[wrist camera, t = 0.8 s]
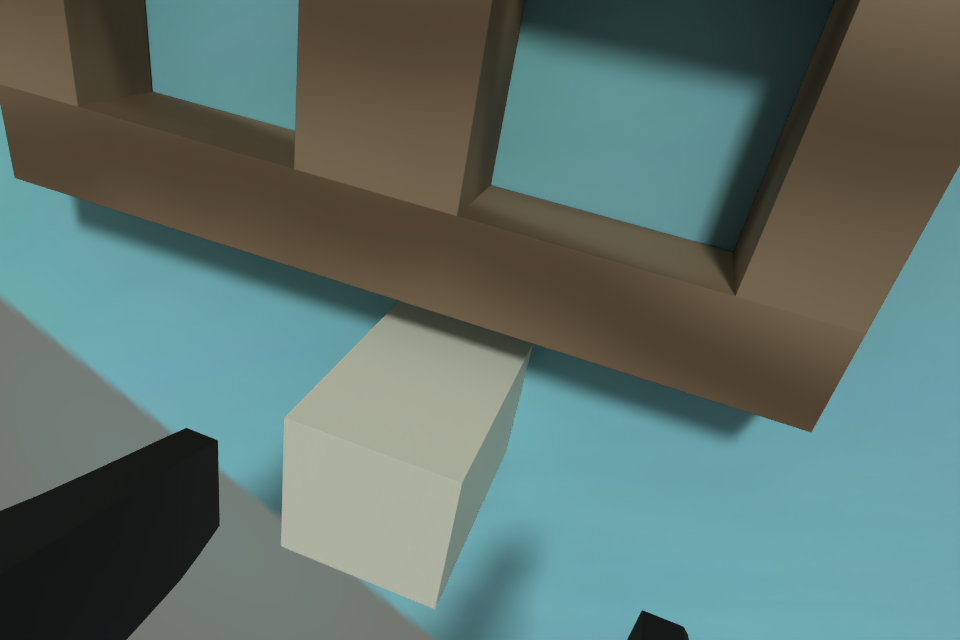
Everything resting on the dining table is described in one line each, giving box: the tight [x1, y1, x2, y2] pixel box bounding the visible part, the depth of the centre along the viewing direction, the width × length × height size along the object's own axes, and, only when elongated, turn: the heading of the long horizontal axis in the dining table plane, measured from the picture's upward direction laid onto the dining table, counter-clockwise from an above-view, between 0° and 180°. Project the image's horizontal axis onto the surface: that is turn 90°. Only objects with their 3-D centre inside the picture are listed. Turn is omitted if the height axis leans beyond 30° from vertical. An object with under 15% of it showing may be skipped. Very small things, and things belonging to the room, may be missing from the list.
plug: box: [281, 301, 533, 609], centre depth 17 cm, size 4×4×6 cm
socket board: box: [0, 0, 960, 432], centre depth 14 cm, size 11×21×2 cm, turn 80°
